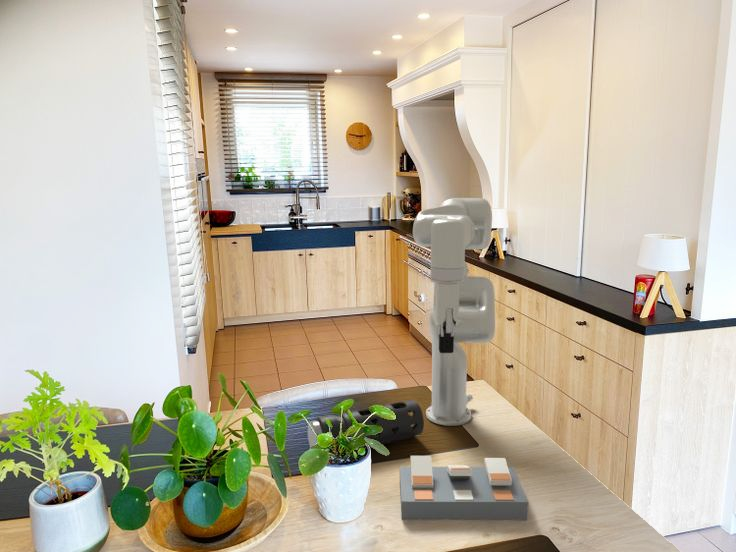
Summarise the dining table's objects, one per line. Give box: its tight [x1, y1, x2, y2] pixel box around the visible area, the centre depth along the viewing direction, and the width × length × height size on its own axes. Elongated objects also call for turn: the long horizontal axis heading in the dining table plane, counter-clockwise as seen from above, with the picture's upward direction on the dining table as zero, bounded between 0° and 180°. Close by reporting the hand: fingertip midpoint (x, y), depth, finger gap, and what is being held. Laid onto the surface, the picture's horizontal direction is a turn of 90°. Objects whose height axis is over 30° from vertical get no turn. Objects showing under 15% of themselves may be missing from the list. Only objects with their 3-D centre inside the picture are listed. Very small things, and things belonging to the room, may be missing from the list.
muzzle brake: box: [307, 399, 425, 449], centre depth 140 cm, size 10×28×10 cm, turn 113°
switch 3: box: [483, 457, 512, 485], centre depth 119 cm, size 7×4×3 cm, turn 178°
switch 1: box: [410, 455, 433, 488], centre depth 119 cm, size 7×4×3 cm, turn 178°
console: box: [399, 466, 529, 521], centre depth 118 cm, size 13×25×4 cm, turn 89°
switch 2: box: [446, 464, 472, 479], centre depth 119 cm, size 7×4×2 cm, turn 179°
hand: (446, 351), depth 130 cm, fingers closed
